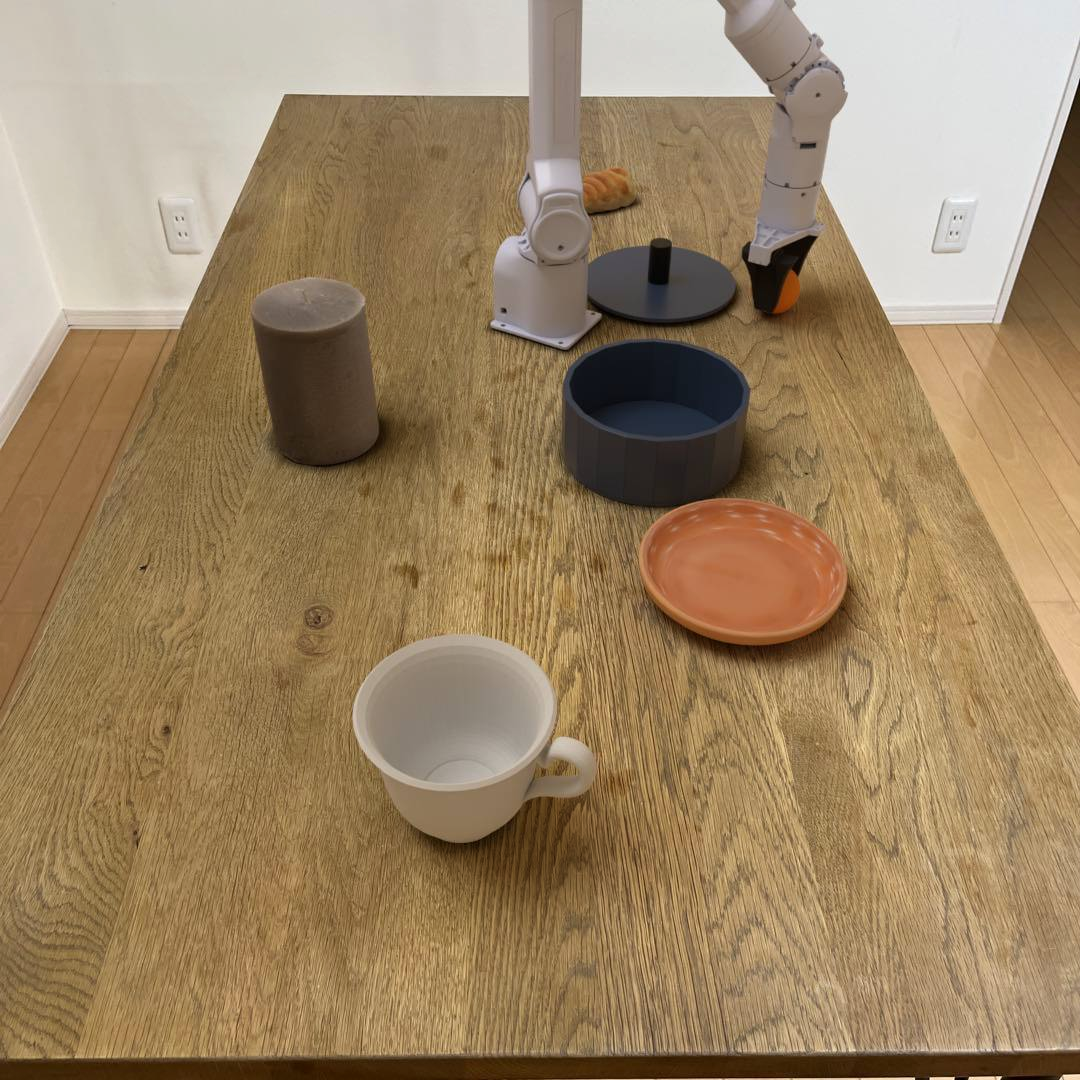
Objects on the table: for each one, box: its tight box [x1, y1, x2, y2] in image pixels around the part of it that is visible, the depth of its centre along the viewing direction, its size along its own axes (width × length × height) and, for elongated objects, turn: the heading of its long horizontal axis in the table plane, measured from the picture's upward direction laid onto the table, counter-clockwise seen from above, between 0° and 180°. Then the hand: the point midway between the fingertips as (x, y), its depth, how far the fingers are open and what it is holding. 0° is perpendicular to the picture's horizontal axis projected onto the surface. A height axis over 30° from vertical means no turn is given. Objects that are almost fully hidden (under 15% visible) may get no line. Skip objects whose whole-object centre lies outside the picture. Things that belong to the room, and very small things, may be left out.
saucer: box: [638, 497, 848, 646], centre depth 86 cm, size 16×16×3 cm
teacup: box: [351, 633, 597, 844], centre depth 68 cm, size 12×15×10 cm
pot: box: [560, 337, 751, 508], centre depth 99 cm, size 16×16×7 cm
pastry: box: [582, 165, 638, 215], centre depth 140 cm, size 9×7×4 cm
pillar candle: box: [250, 276, 380, 466], centre depth 98 cm, size 10×10×15 cm
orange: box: [750, 269, 801, 315], centre depth 119 cm, size 5×5×5 cm
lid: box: [587, 237, 737, 324], centre depth 123 cm, size 17×17×6 cm
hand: (773, 298), depth 120 cm, fingers closed on orange, 5 cm apart
